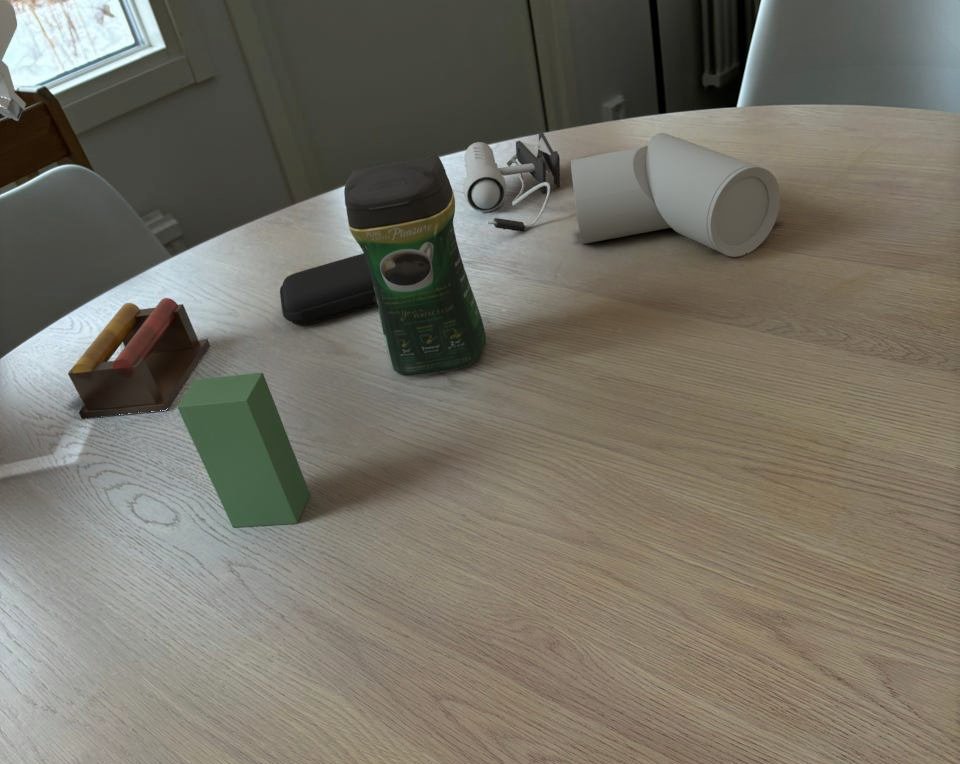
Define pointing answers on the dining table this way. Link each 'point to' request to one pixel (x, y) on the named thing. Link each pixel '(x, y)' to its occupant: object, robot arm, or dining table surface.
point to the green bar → (245, 449)
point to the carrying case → (327, 291)
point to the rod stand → (138, 361)
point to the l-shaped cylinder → (675, 195)
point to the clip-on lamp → (489, 184)
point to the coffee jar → (415, 265)
